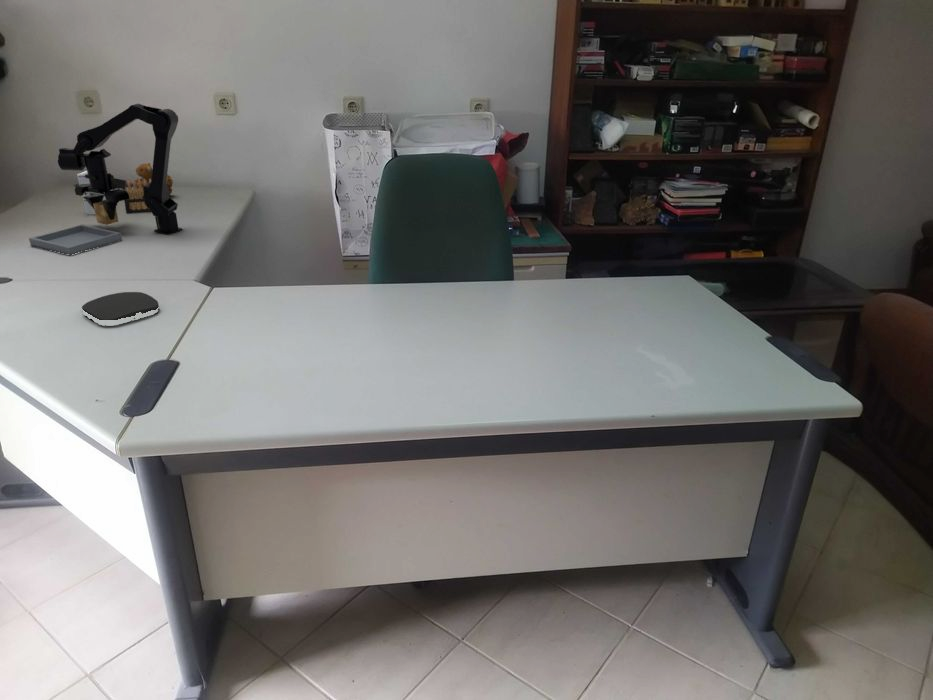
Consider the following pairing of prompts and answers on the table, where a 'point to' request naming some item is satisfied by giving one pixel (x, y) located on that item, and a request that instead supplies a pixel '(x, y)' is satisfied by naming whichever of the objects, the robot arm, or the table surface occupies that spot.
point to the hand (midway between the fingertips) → (107, 218)
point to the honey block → (103, 214)
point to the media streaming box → (120, 305)
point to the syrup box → (82, 181)
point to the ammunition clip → (136, 198)
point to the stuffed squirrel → (150, 176)
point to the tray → (75, 239)
